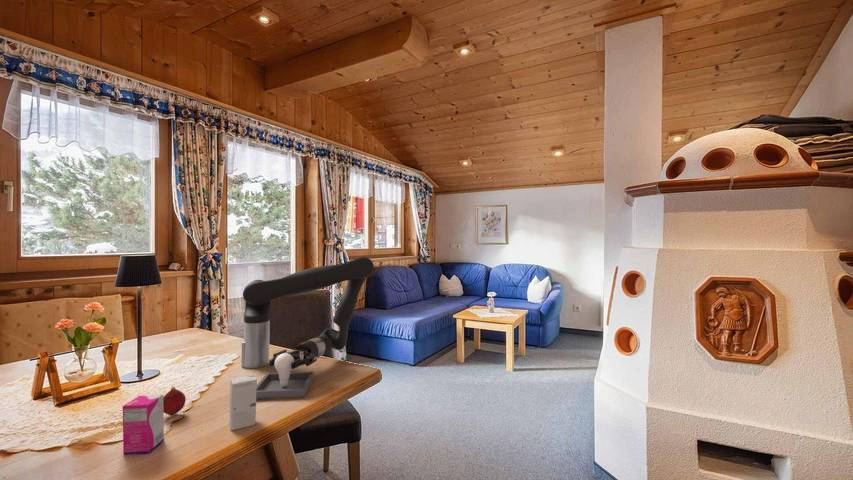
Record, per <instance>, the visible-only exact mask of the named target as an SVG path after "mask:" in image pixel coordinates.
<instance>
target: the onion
mask: <svg viewBox="0 0 853 480" xmlns="http://www.w3.org/2000/svg"><path fill="white" fill-rule="evenodd" d="M185 405H186V395H185V394H184V393H183V392H182V391H181V390H179V389H177V388H176V387H175V386H171V388H170V390H169V391H168V392H167V393H165V394H164V395H163V412H164V415H168V416H171V417H174V416H176V414H178V413H179V412H180V411H181V410H182V409H183V408H184V406H185ZM173 415H174V416H173Z"/></svg>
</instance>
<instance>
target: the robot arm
mask: <svg viewBox="0 0 853 480" xmlns="http://www.w3.org/2000/svg"><path fill="white" fill-rule="evenodd" d="M374 265H375V264H374V262H373V261H372V260H371V259H370V258H368V257H366V256H359V257H357V258H355V259H352V260H348V261H345V262H342V263H338V264H333V265H332V264H330V265H322V266H316V267H312V268H307V269H303V270H299V271H296V272H293V273H291V274H288V275H285V276H283V277H281V278H276V279H270V280H262V279H254V280H252V281H250V282H249V283H248V284H247V285H246V286H245V287H244V288H243V292H242V298H243V300H244V302H245V304H244V305H245V306H244V308H245V309H244V314H243V341H242V342H241V368H246V369H258V368H259V369H260V368H262V367H265V366H268V365H269V366H270V367H273V366H275V360H276V358H277V357H278V356H279V355H280V354H283V353H288V354H290V355H291V356H292V357H293V358H294V361H293V362H292V363H291V370H295V369H297V368H299V367H303V366H304V365H305V367H308V366H311V365H312V364H314V363H316V362H317V361H318V359H319V358H320V357H322V356H323V355H325V354H327V353H328V352H330V351H331V349H333V350H337V351H341V350H342V349H344V348H345V347H346V345H347V342H348V335H349V327H350V323H351V320H352V317H353V315H354V311H355V310H356V305H357V302H358V298H359V295H360V291H361V288H362V286H363V284H364V283H365V281H366V280H367V278H369V277H370V276H371V275H372V274H373V272H374V269H375V266H374ZM346 281H347V283H346V286H345V288H344V291H343V294H342V296H341V298H340V301H339V302H338V305H337V308H336V310H335V312H334V315H333V318H332V323H334V324H336V325H337V326H338V327H339V329H338V330H339V331H338V330H336V329H334V328H326V329H324V330H323V331H322V333H320V334H319V336H316V337H314V338H311V339H308V340H306V341H303V342H300V343H299V344H298V345H297V346H296V347H295V348H294V349H293V350H291V351H288V350H287V349H283V350H280V351H278V352H275V353H273V355H272V358H270V323H271V322H270V321H271V320H270V319H271V318H270V317H271V301H274V300H276V299H280V298H283V297H287V296H294V295H300V294H305V293H310V292H314V291H318V290H321V289H325V288H328V287H331V286H333V285H337V284H339V283H341V282H346Z"/></svg>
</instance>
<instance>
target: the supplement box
mask: <svg viewBox="0 0 853 480" xmlns="http://www.w3.org/2000/svg"><path fill="white" fill-rule="evenodd" d="M163 397H164V394H148V395H147V394H146V395H144V394H143V395H138V396H137V397H135V398H133V399H132V400H130V401H129V402H127V403H126V404H124V405H122V445H123V446H122V447H123V449H122V452H123V453H122V454H123V455H125V456H126V455H127V456H128V455H149V454H150V453H151V452H153V451H154V450H155V449H156V448H158V446H159V445H160V444H162V443H163V442H164V441H165V432H164V431H165V430H164V429H165V424H164V421H165V419H164V415H165V413H164V412H163Z"/></svg>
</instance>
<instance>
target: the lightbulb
mask: <svg viewBox="0 0 853 480" xmlns="http://www.w3.org/2000/svg"><path fill="white" fill-rule="evenodd" d="M293 361H294V358H293V357H292V356H291V355H290V354H288V353H283V354H280V355H279V356H278V357H277V358H276V360H275V365H274V368H275V370H276V371H277V373H278V374H279V379H280V385H281V386H283V387H285V386H286V385H288V381H289V375H290V372H292V371H291V370H292V369H291V363H292V362H293Z"/></svg>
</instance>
